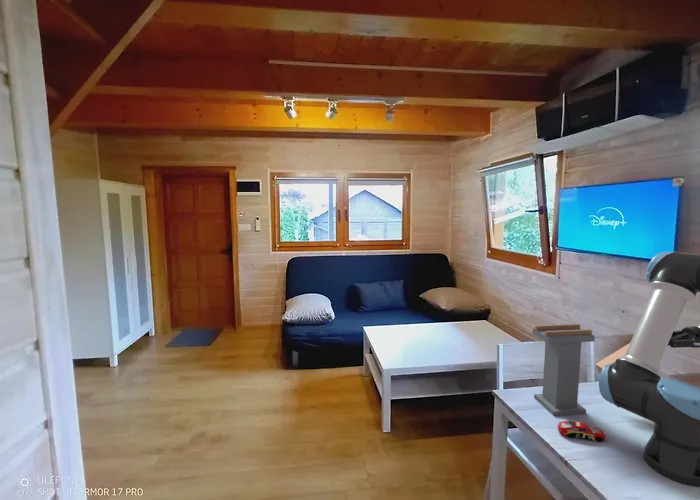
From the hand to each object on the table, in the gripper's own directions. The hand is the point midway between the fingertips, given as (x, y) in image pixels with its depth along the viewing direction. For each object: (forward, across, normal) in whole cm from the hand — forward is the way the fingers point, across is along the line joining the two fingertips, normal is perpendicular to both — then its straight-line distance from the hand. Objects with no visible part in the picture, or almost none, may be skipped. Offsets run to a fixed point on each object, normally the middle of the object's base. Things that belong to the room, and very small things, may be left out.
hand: (640, 339), depth 138 cm
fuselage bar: (+2, 0, -6) cm, 7 cm away
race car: (+34, -17, -24) cm, 45 cm away
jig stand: (+30, 0, -24) cm, 38 cm away
